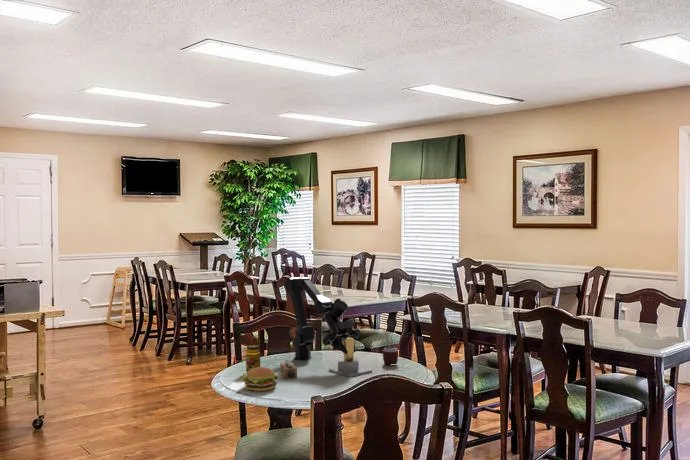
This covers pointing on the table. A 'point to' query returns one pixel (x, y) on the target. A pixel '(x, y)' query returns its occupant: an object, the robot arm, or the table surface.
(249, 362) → the condiment
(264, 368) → the food
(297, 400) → the table surface
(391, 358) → the mate gourd
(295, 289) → the robot arm
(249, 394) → the table surface
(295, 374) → the beam
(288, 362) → the drift
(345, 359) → the tan cylinder
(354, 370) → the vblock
